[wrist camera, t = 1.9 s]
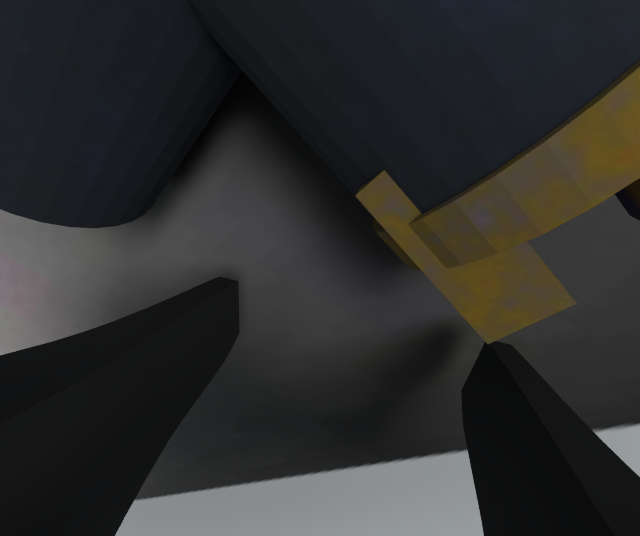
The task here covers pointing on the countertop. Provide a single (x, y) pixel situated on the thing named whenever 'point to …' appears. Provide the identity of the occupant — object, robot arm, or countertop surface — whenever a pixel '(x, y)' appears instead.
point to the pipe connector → (343, 118)
